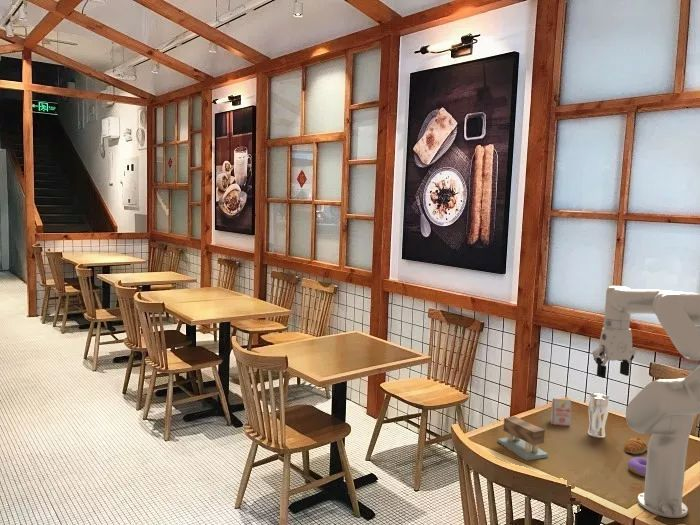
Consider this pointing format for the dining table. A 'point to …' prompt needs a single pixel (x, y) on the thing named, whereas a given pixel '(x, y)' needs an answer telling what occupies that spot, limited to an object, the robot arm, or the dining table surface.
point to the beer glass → (598, 414)
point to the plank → (524, 430)
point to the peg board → (522, 448)
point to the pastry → (635, 446)
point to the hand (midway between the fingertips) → (612, 375)
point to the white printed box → (561, 412)
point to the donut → (638, 466)
